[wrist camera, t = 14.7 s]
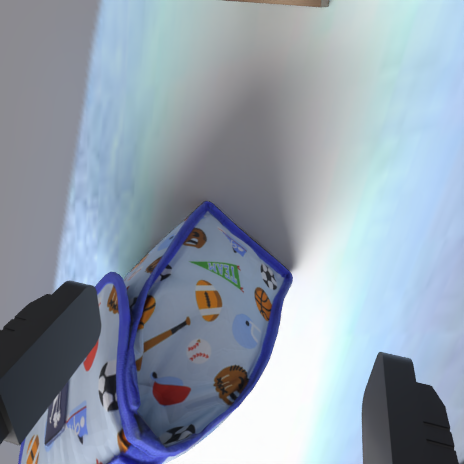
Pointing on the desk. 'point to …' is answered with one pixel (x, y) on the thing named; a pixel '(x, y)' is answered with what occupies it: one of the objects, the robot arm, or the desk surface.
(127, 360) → the lunch bag
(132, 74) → the desk surface
